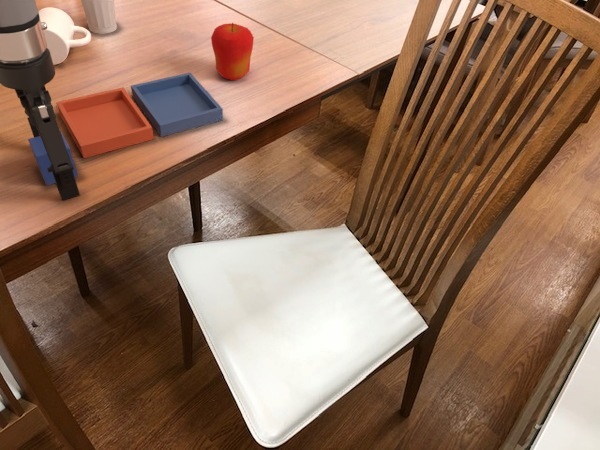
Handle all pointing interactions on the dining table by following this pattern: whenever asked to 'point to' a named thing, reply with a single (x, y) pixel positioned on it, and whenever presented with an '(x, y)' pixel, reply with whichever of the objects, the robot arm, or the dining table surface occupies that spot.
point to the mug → (61, 33)
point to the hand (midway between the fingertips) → (58, 171)
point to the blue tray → (176, 104)
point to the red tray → (104, 122)
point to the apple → (232, 50)
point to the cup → (100, 15)
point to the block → (46, 159)
